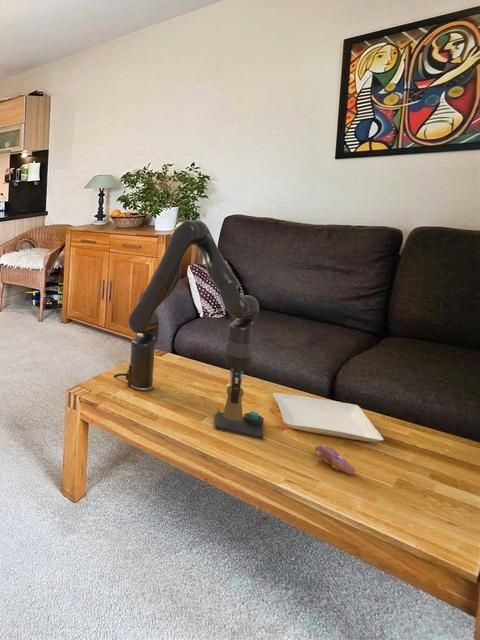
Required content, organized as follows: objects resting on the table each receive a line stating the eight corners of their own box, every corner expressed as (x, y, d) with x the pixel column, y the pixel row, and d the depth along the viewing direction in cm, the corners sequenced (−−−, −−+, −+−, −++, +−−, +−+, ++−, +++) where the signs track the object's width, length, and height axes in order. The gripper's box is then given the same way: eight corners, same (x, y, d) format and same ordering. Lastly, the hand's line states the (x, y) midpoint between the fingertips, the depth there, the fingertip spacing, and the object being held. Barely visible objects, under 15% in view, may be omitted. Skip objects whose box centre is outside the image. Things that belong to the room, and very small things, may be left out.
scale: (215, 429, 165) (216, 421, 165) (216, 413, 176) (217, 406, 176) (264, 440, 158) (264, 432, 158) (262, 423, 169) (263, 415, 169)
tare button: (248, 418, 167) (249, 414, 167) (248, 415, 170) (249, 410, 169) (258, 420, 166) (259, 416, 165) (258, 417, 168) (258, 412, 168)
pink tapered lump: (317, 461, 148) (309, 443, 147) (330, 455, 148) (322, 437, 147) (344, 481, 139) (336, 462, 138) (358, 474, 139) (350, 455, 138)
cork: (237, 412, 169) (240, 383, 167) (245, 421, 163) (248, 391, 161) (220, 411, 170) (222, 382, 168) (227, 420, 164) (230, 390, 162)
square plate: (356, 413, 176) (358, 403, 176) (383, 450, 152) (385, 439, 151) (271, 399, 188) (272, 390, 187) (283, 432, 163) (284, 421, 162)
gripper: (226, 345, 171) (222, 389, 173) (225, 357, 158) (221, 405, 161) (250, 348, 167) (246, 393, 170) (251, 361, 155) (247, 410, 157)
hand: (234, 399), depth 165 cm, fingers closed on cork, 5 cm apart
